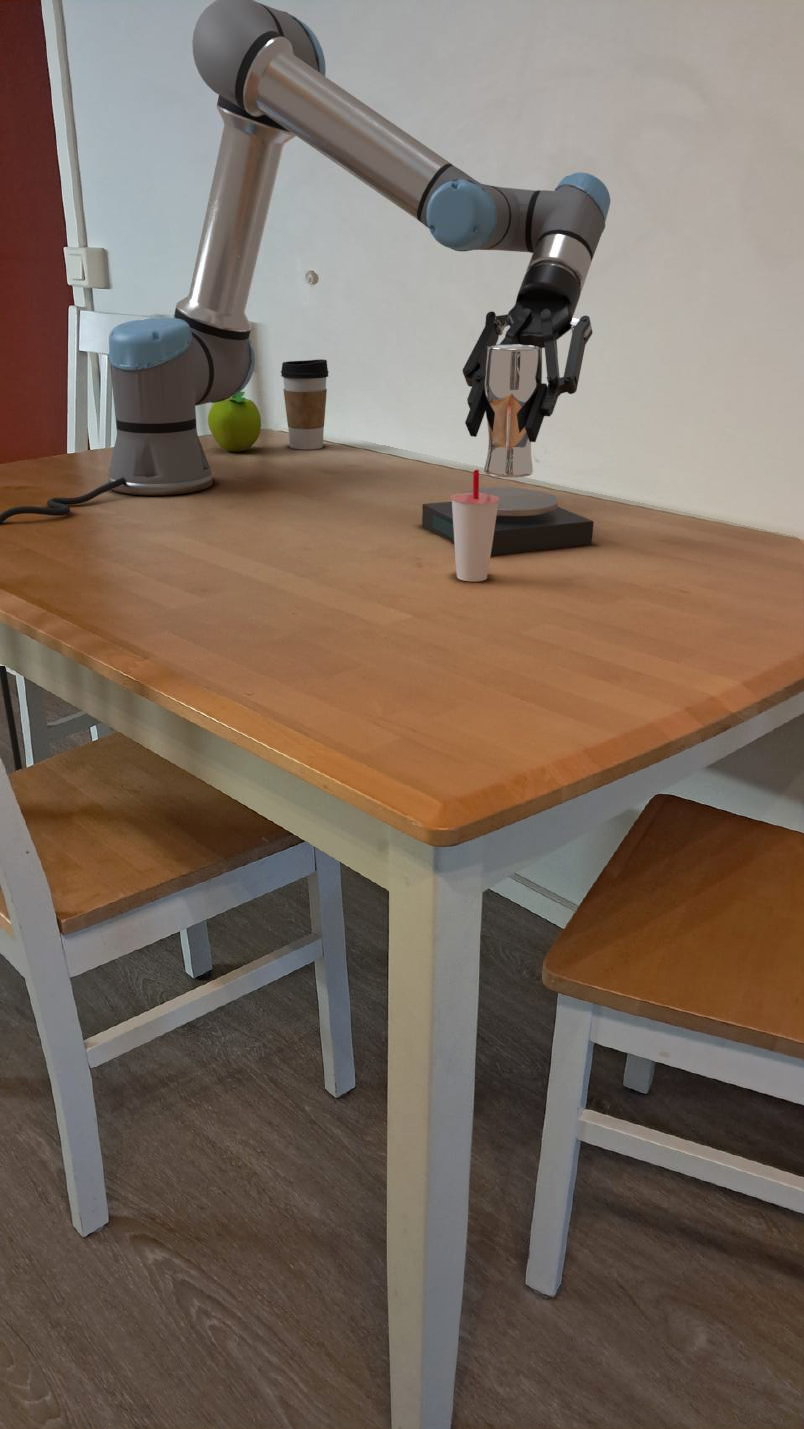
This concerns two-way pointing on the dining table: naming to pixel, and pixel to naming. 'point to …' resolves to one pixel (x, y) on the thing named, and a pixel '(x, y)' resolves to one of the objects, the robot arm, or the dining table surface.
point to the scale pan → (520, 501)
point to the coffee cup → (305, 402)
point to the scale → (518, 529)
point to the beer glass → (510, 406)
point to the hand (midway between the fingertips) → (500, 432)
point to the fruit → (235, 423)
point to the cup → (473, 531)
